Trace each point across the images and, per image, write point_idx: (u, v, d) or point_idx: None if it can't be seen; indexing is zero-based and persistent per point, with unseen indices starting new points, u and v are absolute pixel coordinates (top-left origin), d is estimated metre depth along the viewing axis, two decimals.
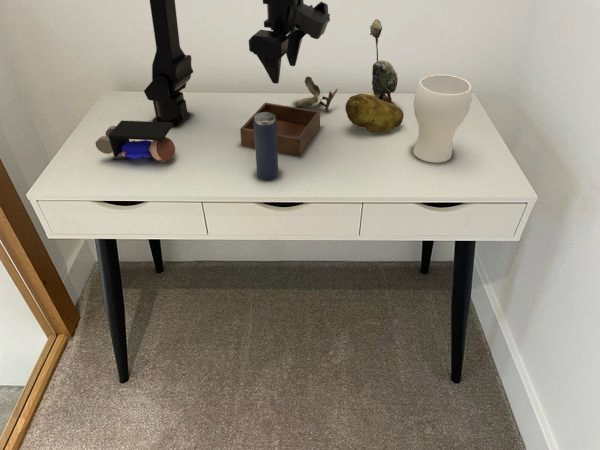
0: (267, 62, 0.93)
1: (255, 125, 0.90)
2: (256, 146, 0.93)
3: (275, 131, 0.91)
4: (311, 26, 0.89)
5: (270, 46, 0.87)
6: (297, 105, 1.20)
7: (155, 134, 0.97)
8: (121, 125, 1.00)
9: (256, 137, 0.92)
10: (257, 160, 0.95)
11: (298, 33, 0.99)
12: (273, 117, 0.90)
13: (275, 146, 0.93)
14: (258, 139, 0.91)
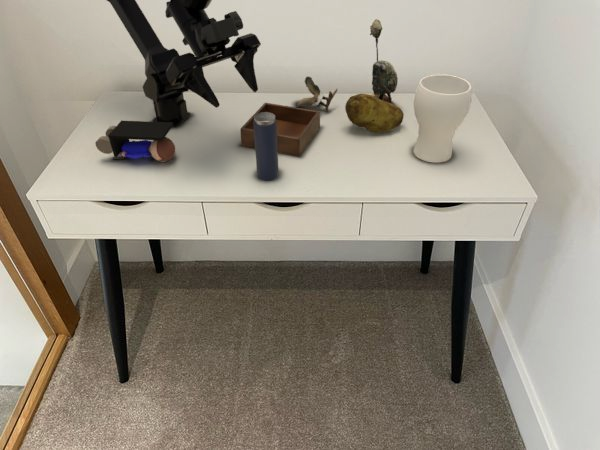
0: (198, 89, 0.91)
1: (255, 125, 0.90)
2: (256, 146, 0.93)
3: (275, 131, 0.91)
4: (210, 32, 0.87)
5: (173, 67, 0.87)
6: (297, 105, 1.20)
7: (155, 134, 0.97)
8: (121, 125, 1.00)
9: (256, 137, 0.92)
10: (257, 160, 0.95)
11: (243, 57, 0.95)
12: (273, 117, 0.90)
13: (275, 146, 0.93)
14: (258, 139, 0.91)
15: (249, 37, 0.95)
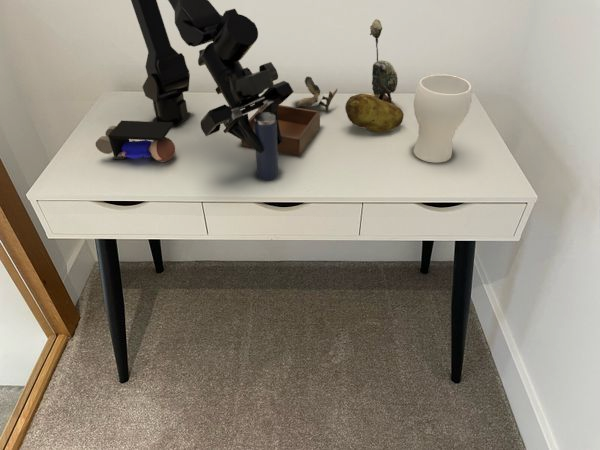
0: (242, 135, 0.92)
1: (255, 125, 0.90)
2: None
3: (275, 131, 0.91)
4: (246, 85, 0.86)
5: (208, 120, 0.87)
6: (297, 105, 1.20)
7: (155, 134, 0.97)
8: (121, 125, 1.00)
9: None
10: (257, 160, 0.95)
11: (267, 109, 0.93)
12: (273, 117, 0.90)
13: (275, 146, 0.93)
14: None
15: (282, 86, 0.94)
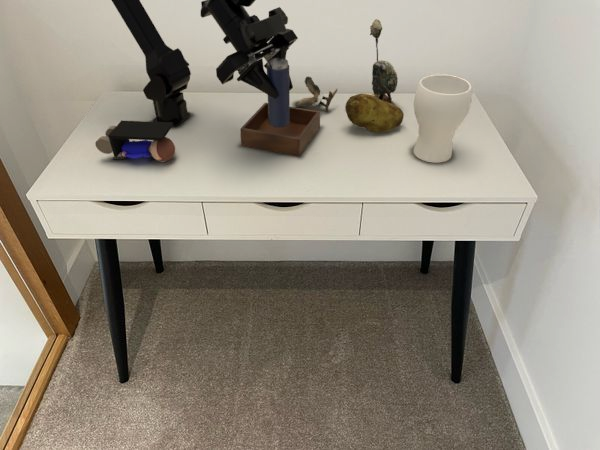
0: (256, 82, 0.93)
1: (270, 70, 0.92)
2: None
3: (288, 75, 0.94)
4: (261, 29, 0.88)
5: (227, 66, 0.87)
6: (297, 105, 1.20)
7: (155, 134, 0.97)
8: (121, 125, 1.00)
9: None
10: (270, 107, 0.97)
11: (276, 56, 0.95)
12: (286, 61, 0.92)
13: (288, 91, 0.95)
14: None
15: (288, 33, 0.96)
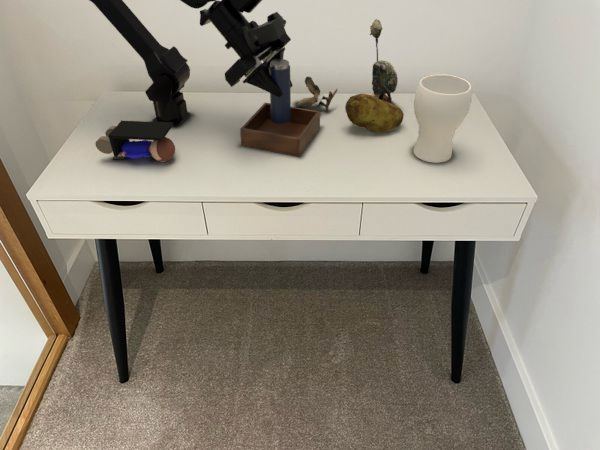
0: (261, 83, 1.00)
1: (273, 71, 0.99)
2: None
3: None
4: (265, 33, 0.94)
5: (237, 69, 0.93)
6: (297, 105, 1.20)
7: (155, 134, 0.97)
8: (121, 125, 1.00)
9: None
10: (274, 105, 1.04)
11: (275, 57, 1.03)
12: (287, 61, 1.00)
13: None
14: None
15: (282, 35, 1.04)
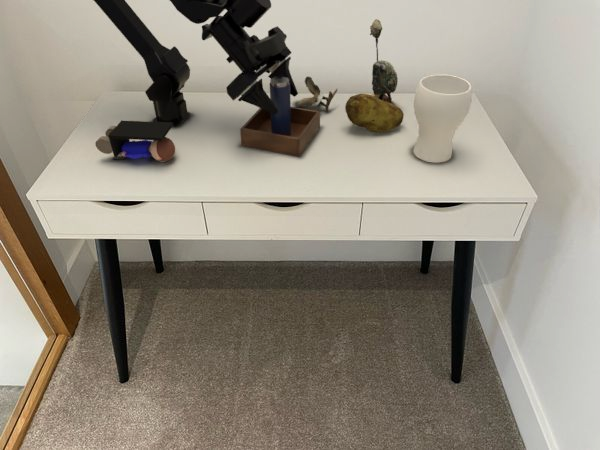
0: (256, 101, 1.00)
1: (274, 88, 1.01)
2: None
3: None
4: (266, 47, 0.96)
5: (239, 83, 0.95)
6: (297, 105, 1.20)
7: (155, 134, 0.97)
8: (121, 125, 1.00)
9: (274, 99, 1.03)
10: (274, 121, 1.06)
11: (281, 66, 1.06)
12: (287, 79, 1.02)
13: (290, 105, 1.05)
14: (277, 101, 1.03)
15: (283, 48, 1.06)
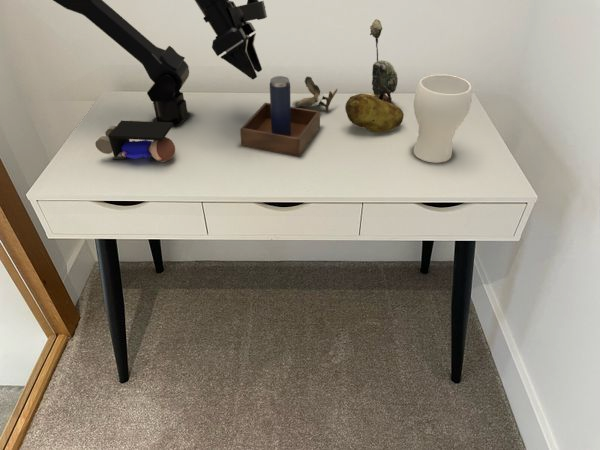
0: (237, 62, 0.98)
1: (274, 88, 1.01)
2: (274, 108, 1.04)
3: None
4: (253, 10, 0.97)
5: (231, 37, 0.93)
6: (297, 105, 1.20)
7: (155, 134, 0.97)
8: (121, 125, 1.00)
9: (274, 99, 1.03)
10: (274, 121, 1.06)
11: (248, 40, 1.06)
12: (287, 79, 1.02)
13: (290, 105, 1.05)
14: (277, 101, 1.03)
15: (250, 24, 1.07)
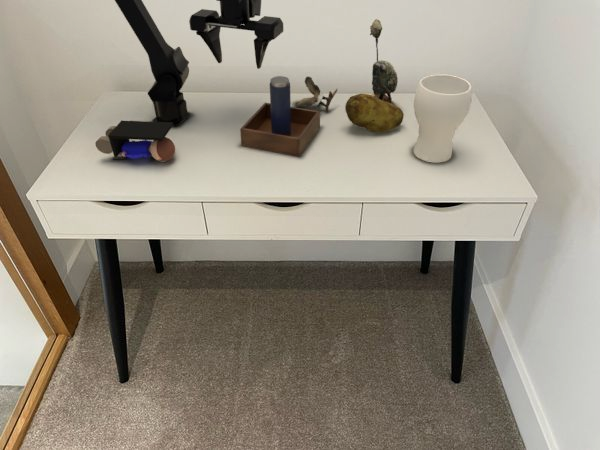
0: (262, 49, 1.03)
1: (274, 88, 1.01)
2: (274, 108, 1.04)
3: None
4: (259, 6, 1.05)
5: (281, 26, 1.01)
6: (297, 105, 1.20)
7: (155, 134, 0.97)
8: (121, 125, 1.00)
9: (274, 99, 1.03)
10: (274, 121, 1.06)
11: (217, 29, 1.06)
12: (287, 79, 1.02)
13: (290, 105, 1.05)
14: (277, 101, 1.03)
15: None
